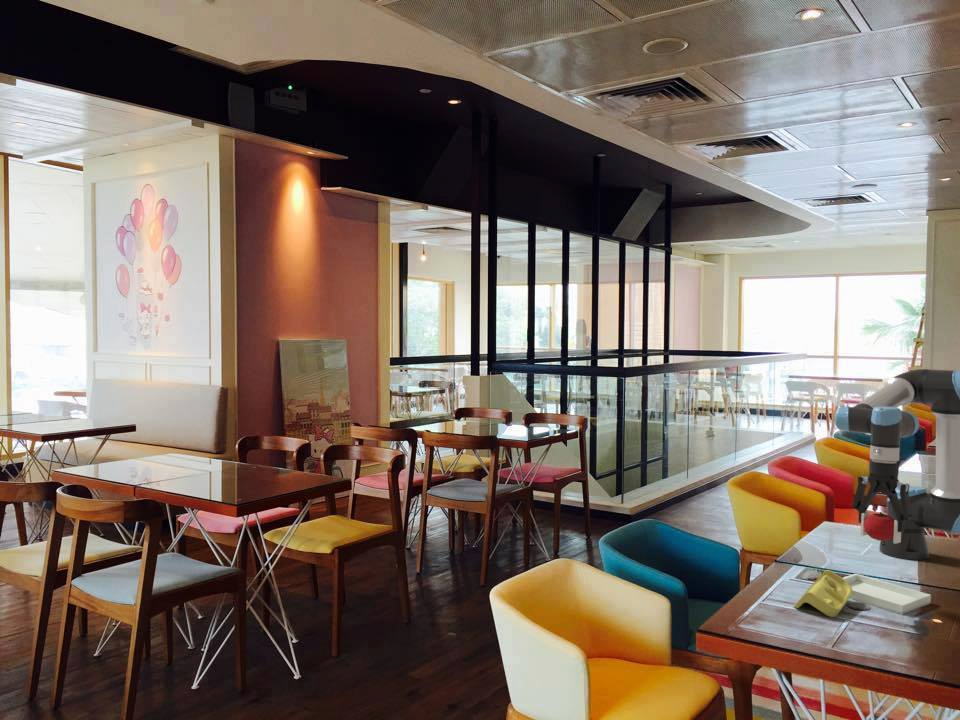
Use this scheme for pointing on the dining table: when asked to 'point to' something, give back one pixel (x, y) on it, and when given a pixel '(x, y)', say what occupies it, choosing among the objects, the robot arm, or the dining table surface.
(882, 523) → the tomato
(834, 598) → the plastic component
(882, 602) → the tray
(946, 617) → the dining table surface
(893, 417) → the robot arm
